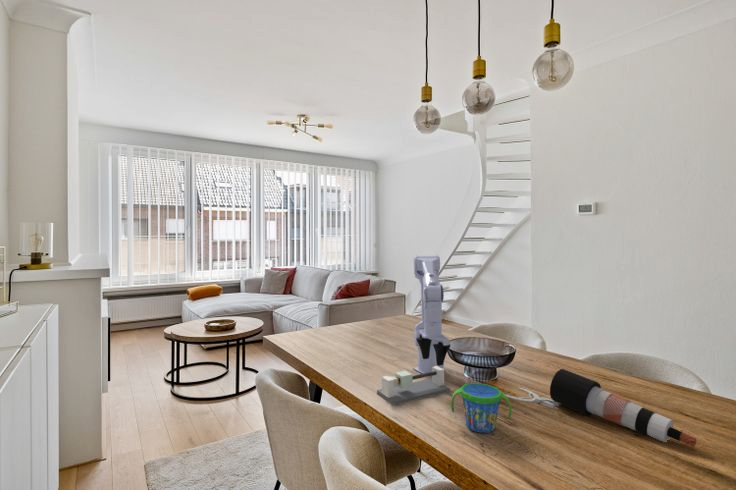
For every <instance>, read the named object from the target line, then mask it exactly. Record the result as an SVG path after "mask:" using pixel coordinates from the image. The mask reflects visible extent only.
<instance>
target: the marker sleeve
mask: <svg viewBox="0 0 736 490" xmlns="http://www.w3.org/2000/svg"><path fill="white" fill-rule="evenodd" d="M394 374H395V375H394V377H397V378H398V379H400V383H399V384H398V385H397V386H398V387H400V388H401V389H405V388H409V387H412V383H413V380H412V378H413V376H414V375H413V373H411V372H409V371H407V370H402V371H397V372H395V373H394Z"/></svg>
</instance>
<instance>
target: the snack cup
mask: <svg viewBox="0 0 736 490" xmlns="http://www.w3.org/2000/svg"><path fill="white" fill-rule="evenodd" d="M458 394H459V395H461V397H462V403H463V412H464V419H465V425H466V426H467V428H468V429H469V430H470V431H472V432H477V433H487V434H490V432H493V431H494V430H495V429H496V426H497V419H498V413H499V407H500V404H501V403H502V402H501V401H502V400H503V399H504V400H505V401H506V403H507V404H508V405H509V409H508V414H507V415H508V420H510V419H511V417H512V413H513V412H512V409H513V408H512V403H511V401H510V398H508V397H507V396H506V395H507V394H506V395H505V393H503V392H502V391H501V390H500V389H499V388H498V387H496V386H493V385H491V384H486V383H479V382H472V383H471V382H469V383H465V384H463V385H462V386H461V387H460V388H458V389H456V390H455V391H454V393H453V394H452V396H451V401H450V408H451V412H452V413H455V408H454V407H455V406H454V405H455V404H454V401H455V397H456V396H457V395H458Z"/></svg>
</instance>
